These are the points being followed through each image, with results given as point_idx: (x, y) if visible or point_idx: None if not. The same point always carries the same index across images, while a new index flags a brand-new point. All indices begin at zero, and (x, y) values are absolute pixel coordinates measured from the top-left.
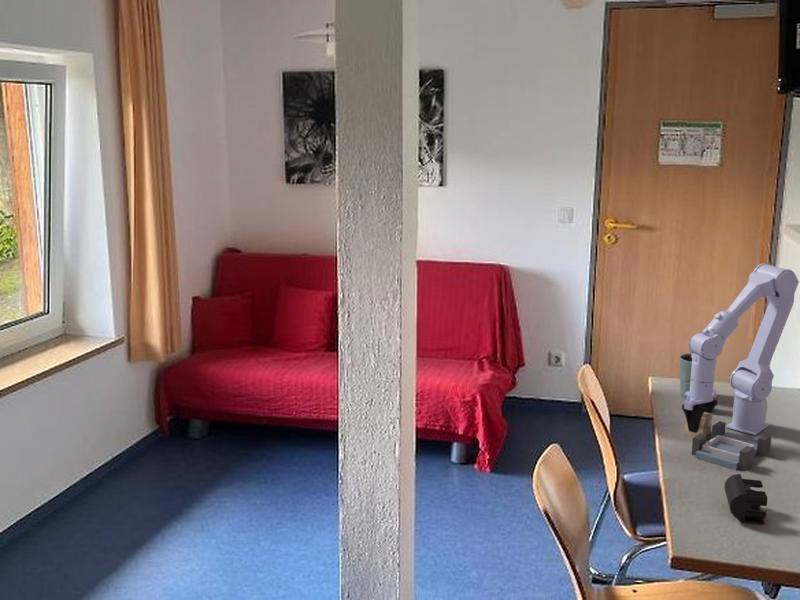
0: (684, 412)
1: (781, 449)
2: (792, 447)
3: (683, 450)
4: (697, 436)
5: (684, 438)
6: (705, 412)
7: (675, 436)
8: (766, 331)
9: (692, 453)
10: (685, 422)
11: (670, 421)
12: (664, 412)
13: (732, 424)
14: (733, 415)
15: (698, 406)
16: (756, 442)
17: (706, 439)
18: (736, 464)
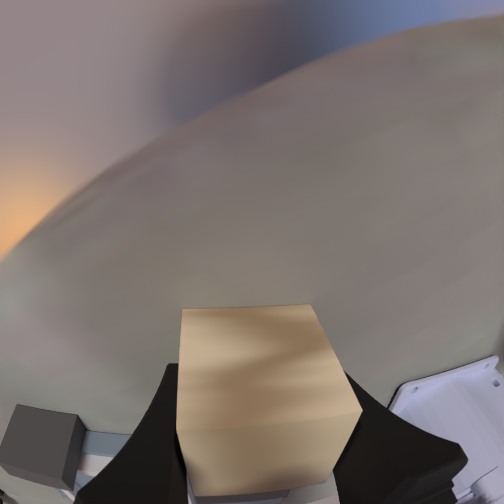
0: (102, 470)
1: (296, 498)
2: (326, 497)
3: (11, 376)
4: (19, 471)
5: (120, 337)
6: (333, 462)
7: (101, 290)
8: None
9: (16, 410)
10: (178, 373)
11: (353, 133)
12: (465, 54)
13: (420, 398)
14: (438, 430)
15: (369, 455)
16: (261, 501)
17: (74, 472)
18: (65, 495)
